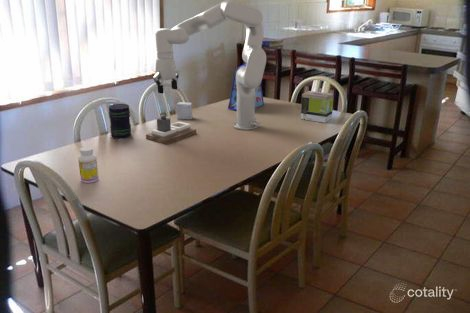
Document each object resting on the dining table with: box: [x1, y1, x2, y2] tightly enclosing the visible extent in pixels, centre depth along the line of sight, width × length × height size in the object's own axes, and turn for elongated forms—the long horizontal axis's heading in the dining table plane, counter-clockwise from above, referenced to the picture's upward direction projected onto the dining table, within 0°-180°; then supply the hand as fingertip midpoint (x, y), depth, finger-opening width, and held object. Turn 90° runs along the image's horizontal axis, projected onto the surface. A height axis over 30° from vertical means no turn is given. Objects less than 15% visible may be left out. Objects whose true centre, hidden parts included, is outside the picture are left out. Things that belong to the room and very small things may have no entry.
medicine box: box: [176, 101, 193, 120], centre depth 252 cm, size 8×4×9 cm, turn 84°
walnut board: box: [145, 127, 197, 145], centre depth 224 cm, size 14×21×2 cm, turn 143°
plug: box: [156, 114, 172, 132], centre depth 218 cm, size 5×4×8 cm
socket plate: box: [151, 120, 191, 138], centre depth 224 cm, size 10×19×2 cm, turn 143°
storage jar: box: [108, 103, 132, 140], centre depth 222 cm, size 10×10×15 cm
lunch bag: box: [227, 62, 265, 111], centre depth 272 cm, size 22×14×29 cm, turn 147°
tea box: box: [300, 90, 334, 124], centre depth 251 cm, size 15×10×15 cm, turn 58°
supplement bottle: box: [77, 146, 100, 184], centre depth 172 cm, size 7×7×13 cm
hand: (167, 91), depth 221 cm, fingers open, 9 cm apart
